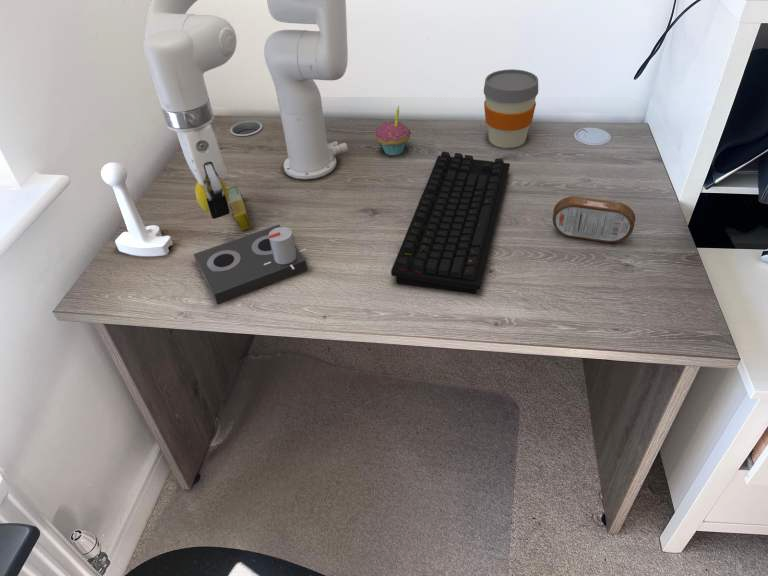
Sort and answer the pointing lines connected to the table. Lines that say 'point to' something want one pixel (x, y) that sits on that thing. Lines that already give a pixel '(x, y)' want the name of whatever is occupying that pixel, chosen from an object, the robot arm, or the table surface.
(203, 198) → the lemon
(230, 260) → the burners
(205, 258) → the hob
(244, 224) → the medication box
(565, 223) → the tin
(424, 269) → the keyboard
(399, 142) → the cupcake
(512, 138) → the reusable coffee cup
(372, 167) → the table surface
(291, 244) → the hob knob
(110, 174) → the joystick
